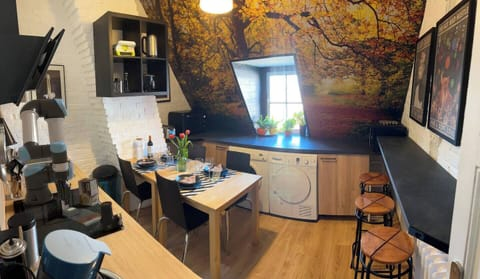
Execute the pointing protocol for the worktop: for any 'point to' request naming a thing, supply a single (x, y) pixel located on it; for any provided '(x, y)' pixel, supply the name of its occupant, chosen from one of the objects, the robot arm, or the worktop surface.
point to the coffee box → (88, 191)
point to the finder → (70, 211)
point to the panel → (86, 217)
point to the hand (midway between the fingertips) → (65, 210)
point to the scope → (109, 216)
